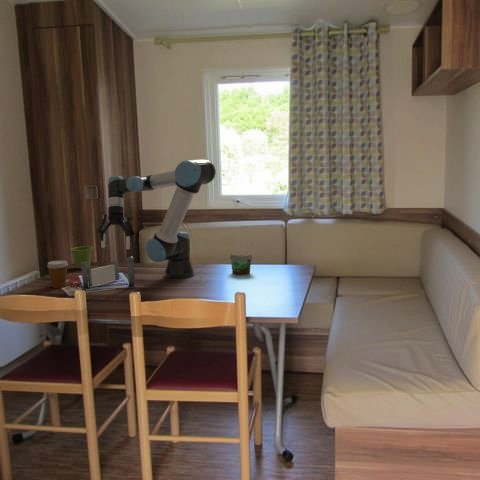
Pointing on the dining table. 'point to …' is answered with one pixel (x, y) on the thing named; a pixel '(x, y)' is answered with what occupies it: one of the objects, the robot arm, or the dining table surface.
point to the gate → (103, 274)
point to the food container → (240, 264)
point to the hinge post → (84, 276)
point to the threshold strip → (110, 287)
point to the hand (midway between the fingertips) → (115, 248)
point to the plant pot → (82, 255)
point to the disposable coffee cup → (58, 273)
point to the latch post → (131, 272)
